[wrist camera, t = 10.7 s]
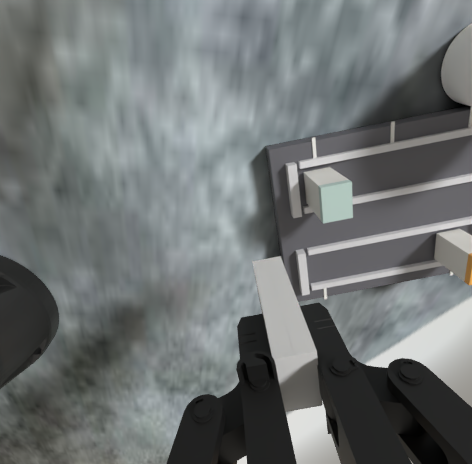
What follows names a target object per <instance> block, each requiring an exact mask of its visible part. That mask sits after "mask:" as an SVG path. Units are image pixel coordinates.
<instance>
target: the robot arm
mask: <svg viewBox="0 0 472 464" xmlns="http://www.w3.org/2000/svg"><path fill="white" fill-rule="evenodd" d="M252 262H253V267H254V273H255V278H256V283H257V289H258V294H259V300H260V305H261V310H262V314H259V315H254V316H248V317H243V318H241V319H240V322H239V324H238V326H237V328H238V340H239V351H240V360H239V362H238V363H237V369H236V370H237V373H238V377H239V381H240V382H239V383H238V385H237V386H236V387H235V388H234V389H233V390H232V391H231V392H229V393H228V394H226V395H224V396H222V397H220V398H217V397H216V396H213V395H209V394H206V395H200V396H198V397H196V398H194V399H193V400H192V401H191V402H190V403H189V404H188V405H187V407H186V409H185V411H184V414H183V417H182V420H181V423H180V426H179V429H178V432H177V435H176V437H175V440H174V443H173V446H172V449H171V452H170V455H169V458H168V461H167V464H237V460H239V459H241V458H242V457H244V456H246V455H247V464H296V459H295V454H294V450H293V445H292V441H291V436H290V432H289V427H288V423H287V417H286V413H285V412H287V411H293V410H298V409H304V408H310V407H315V406H321V405H322V401H323V404H324V407H325V410H326V418H327V429H328V434H332V438H333V441H334V443H335V447H336V450H337V453H338V456H339V459H340V462H341V464H412V463H411V461H412V462H413V464H472V407H471V406H470V405H468V404H467V403H466V402H465V401H464V400H463V399H462V398H461V397H459V396H458V395H457V394H456V393H455V392H454V391H453V390H452V389H451V388H449V387H448V386H447V385H446V384H445V383H444V382H443V381H442V380H441V379H439V378H438V377H437V376H436V375H435V374H434V373H433V372H432V371H430V370H429V369H428V368H427V367H426V366H424V365H423V364H421V363H420V362H417V361H415V360H412V359H403V358H402V359H397V360H394V361H393V362H391V363H390V364H389V366H388V368H381V367H372V366H367V365H365V364H362V363H360V362H358V361H357V360H356V359H355V358H353V357H352V356H351V355H350V353H349V352H348V350H347V348H346V346H345V344H344V342H343V340H342V338H341V336H340V334H339V332H338V330H337V328H336V327H335V324H334V322H333V320H332V318H331V316H330V314H329V312H328V310H327V309H326V308H325V307H324V306H322V305H321V304H320V303H314V304H309V305H304V306H299V303H298V301H297V298H296V295H295V293H294V290H293V288H292V285H291V282H290V280H289V277H288V274H287V272H286V269H285V267H284V264H283V261H282V259H281V256H279V257H273V258H268V259H263V260H257V261H252ZM58 325H59V313H58V308H57V305H56V302H55V300H54V298H53V296H52V294H51V292H50V291H49V290H48V288H47V287H46V286H45V284H44V283H43V282H42V281H41V280H40V279H39V278H38V277H37V276H36V275H34V274H33V273H32V272H31V271H29V270H28V269H27V268H25V267H24V266H22V265H20V264H19V263H17V262H15V261H13V260H11V259H8V258H6V257H3V256H1V255H0V389H1V388H2V387H3V386H5V385H6V384H7V383H9V382H10V381H11V380H12V379H14V378H15V377H16V376H17V375H19V374H20V373H21V372H23V371H24V370H25V369H26V368H28V367H29V366H30V365H31V364H33V363H34V362H35V361H36V360H37V359H39V357H40V356H41V355H42V354H43V353H44V352H45V350H46V349H47V347H48V346H49V344H50V343H51V341H52V340H53V338H54V336H55V334H56V332H57V329H58ZM408 457H409V458H408ZM409 459H410V460H411V461H410V460H409Z"/></svg>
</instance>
